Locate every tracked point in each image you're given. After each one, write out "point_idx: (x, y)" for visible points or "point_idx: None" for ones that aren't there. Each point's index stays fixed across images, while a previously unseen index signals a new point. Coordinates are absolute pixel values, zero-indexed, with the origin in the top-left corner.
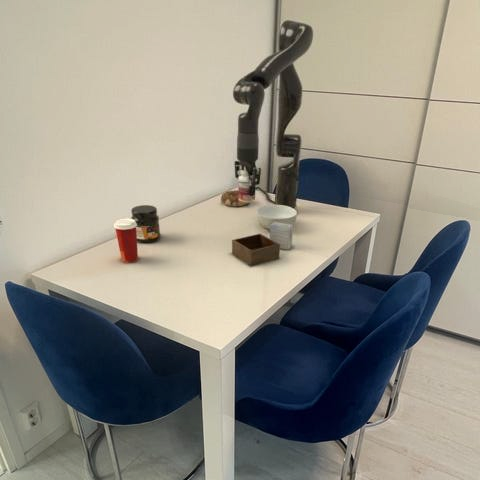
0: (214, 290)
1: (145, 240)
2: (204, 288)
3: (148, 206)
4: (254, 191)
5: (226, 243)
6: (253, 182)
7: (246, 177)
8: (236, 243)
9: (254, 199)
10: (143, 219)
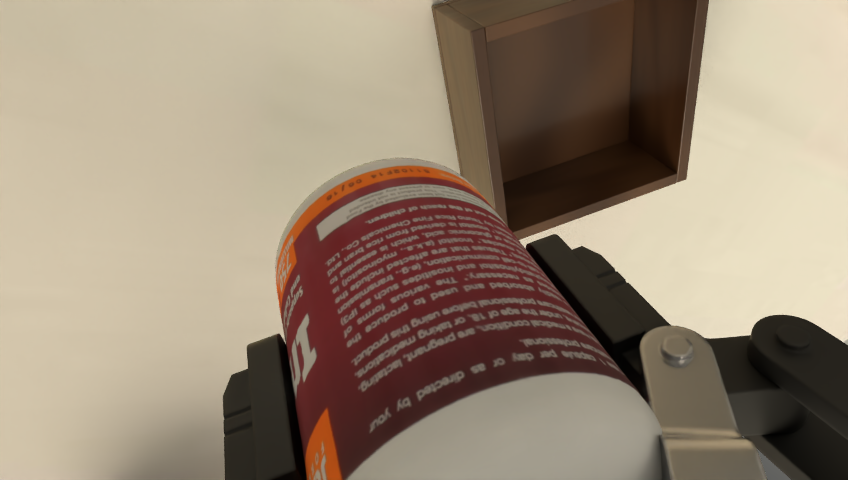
0: (705, 299)
1: None
2: (676, 325)
3: None
4: (616, 283)
5: None
6: (797, 435)
7: None
8: (544, 227)
9: (468, 182)
10: None
